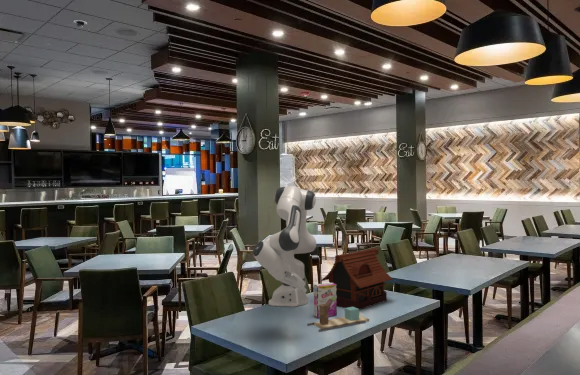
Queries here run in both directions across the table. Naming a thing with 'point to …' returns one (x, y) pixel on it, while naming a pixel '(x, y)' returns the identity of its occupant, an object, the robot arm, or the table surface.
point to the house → (358, 279)
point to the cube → (351, 313)
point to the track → (338, 326)
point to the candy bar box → (325, 298)
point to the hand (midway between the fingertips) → (300, 289)
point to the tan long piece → (333, 322)
